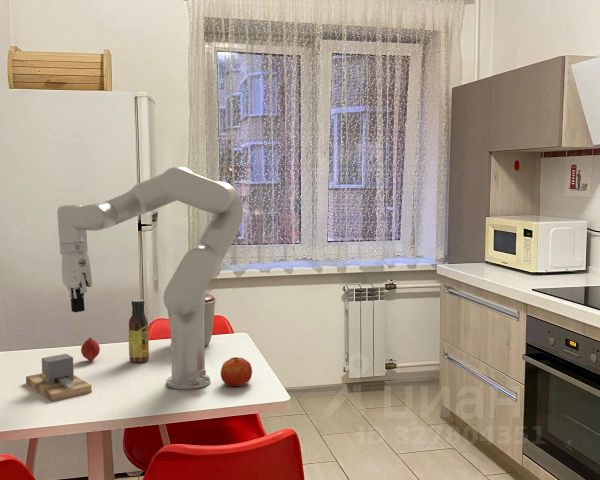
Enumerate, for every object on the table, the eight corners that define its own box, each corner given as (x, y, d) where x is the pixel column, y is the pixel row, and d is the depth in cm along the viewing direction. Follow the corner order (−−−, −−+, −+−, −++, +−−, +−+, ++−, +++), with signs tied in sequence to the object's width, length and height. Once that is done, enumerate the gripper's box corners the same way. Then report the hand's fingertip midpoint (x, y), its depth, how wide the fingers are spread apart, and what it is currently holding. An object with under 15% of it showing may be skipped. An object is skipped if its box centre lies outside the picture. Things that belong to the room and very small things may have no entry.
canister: (200, 336, 243) (199, 280, 241) (227, 346, 229) (226, 287, 227) (156, 344, 232) (155, 285, 229) (181, 355, 218) (180, 293, 215)
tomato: (223, 390, 183) (222, 363, 182) (218, 380, 191) (218, 354, 191) (255, 388, 185) (255, 360, 184) (249, 378, 194) (249, 352, 193)
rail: (74, 387, 179) (74, 382, 179) (66, 389, 177) (66, 384, 177) (50, 372, 192) (50, 367, 192) (42, 374, 191) (41, 369, 191)
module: (73, 380, 185) (72, 357, 185) (46, 386, 180) (46, 362, 180) (66, 376, 189) (66, 353, 188) (40, 381, 184) (39, 358, 183)
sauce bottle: (146, 363, 208) (144, 302, 206) (126, 363, 208) (125, 302, 206) (151, 357, 215) (149, 298, 213) (132, 357, 215) (130, 298, 213)
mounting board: (91, 392, 181) (91, 385, 181) (52, 401, 174) (51, 394, 174) (63, 375, 196) (63, 368, 196) (26, 383, 189) (25, 376, 189)
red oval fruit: (77, 362, 210) (76, 337, 209) (90, 357, 215) (90, 333, 214) (90, 364, 207) (89, 339, 206) (103, 359, 212) (103, 335, 211)
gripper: (98, 248, 183) (102, 312, 185) (75, 245, 194) (79, 305, 196) (72, 251, 178) (77, 317, 180) (50, 248, 189) (54, 310, 190)
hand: (78, 311), depth 188 cm, fingers closed
